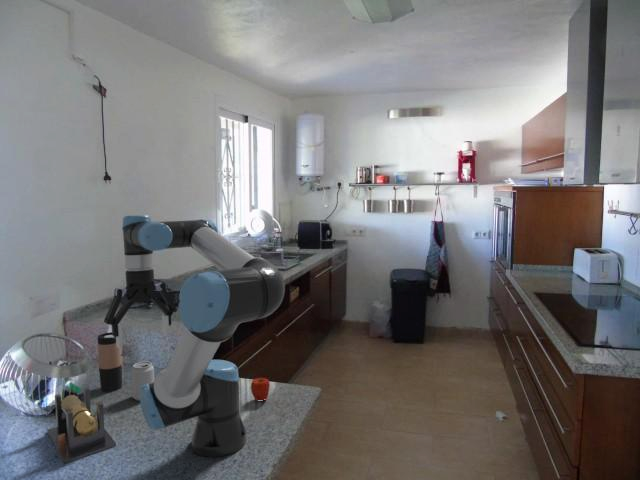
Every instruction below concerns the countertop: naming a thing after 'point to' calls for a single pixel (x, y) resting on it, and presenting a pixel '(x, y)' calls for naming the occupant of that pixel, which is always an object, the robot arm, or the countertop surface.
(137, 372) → the can
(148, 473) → the countertop surface
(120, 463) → the countertop surface
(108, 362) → the travel mug
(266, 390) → the apple
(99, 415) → the dark grey pronged rack
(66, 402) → the tube
